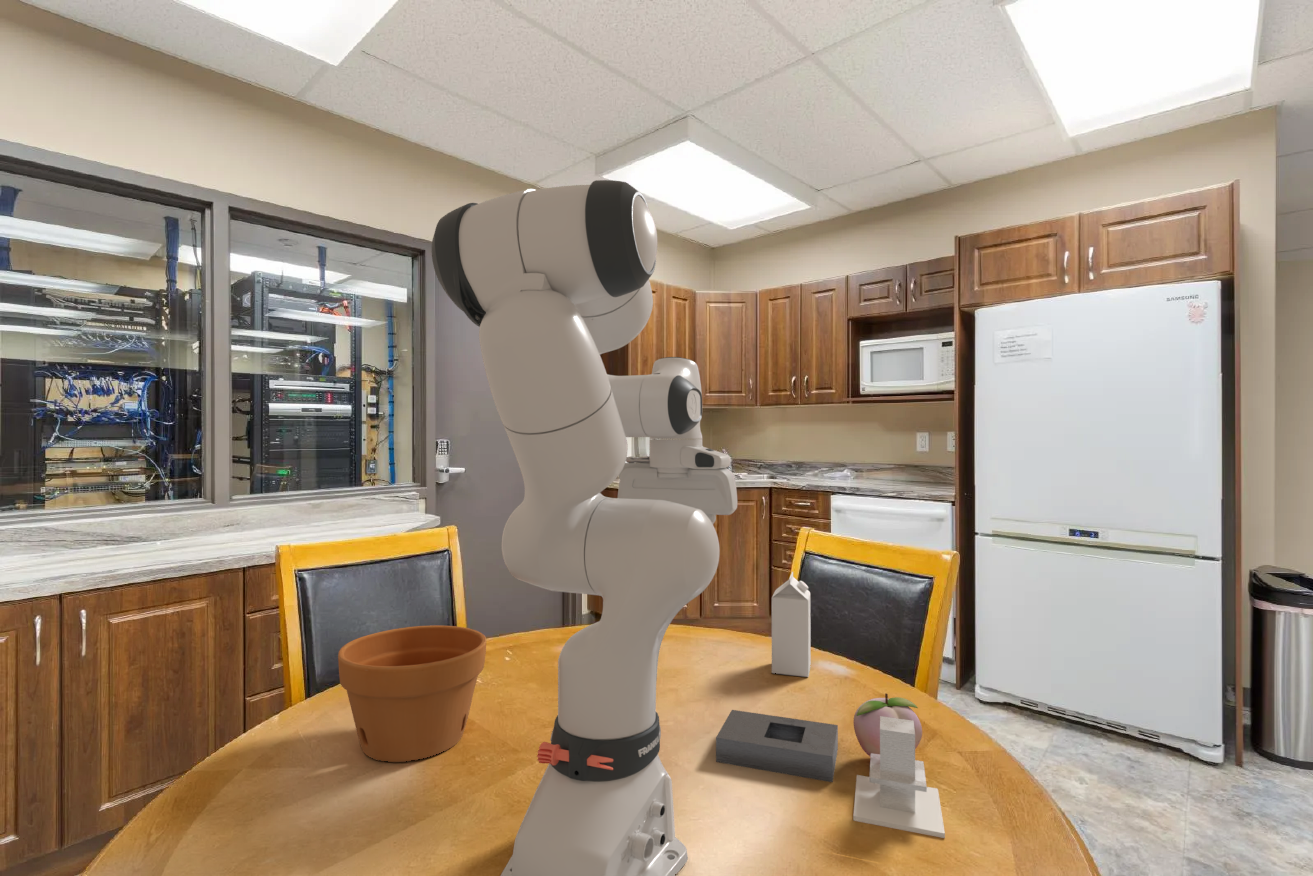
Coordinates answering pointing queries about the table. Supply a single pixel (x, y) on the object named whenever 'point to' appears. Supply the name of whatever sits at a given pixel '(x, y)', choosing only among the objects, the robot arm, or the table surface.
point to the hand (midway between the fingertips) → (676, 540)
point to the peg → (897, 765)
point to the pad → (921, 821)
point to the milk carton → (791, 629)
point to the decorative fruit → (870, 720)
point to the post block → (778, 745)
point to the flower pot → (411, 688)
